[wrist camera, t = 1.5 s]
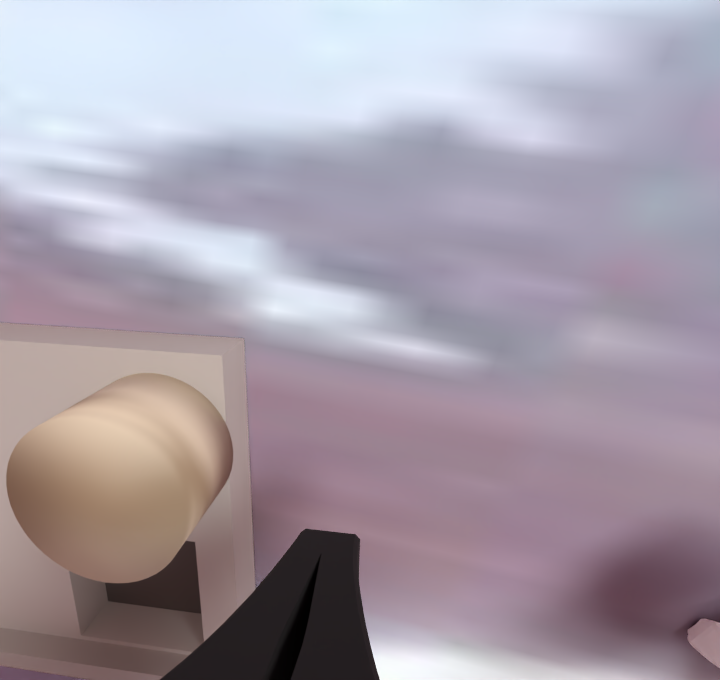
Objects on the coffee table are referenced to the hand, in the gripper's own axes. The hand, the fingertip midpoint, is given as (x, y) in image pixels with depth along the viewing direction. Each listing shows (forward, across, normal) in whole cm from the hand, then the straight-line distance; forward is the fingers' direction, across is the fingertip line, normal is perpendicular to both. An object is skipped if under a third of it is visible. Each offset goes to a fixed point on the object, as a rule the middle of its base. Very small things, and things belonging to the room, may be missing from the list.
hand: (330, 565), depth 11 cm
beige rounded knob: (+5, +7, 0) cm, 8 cm away
